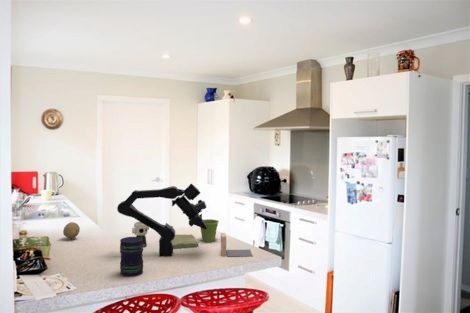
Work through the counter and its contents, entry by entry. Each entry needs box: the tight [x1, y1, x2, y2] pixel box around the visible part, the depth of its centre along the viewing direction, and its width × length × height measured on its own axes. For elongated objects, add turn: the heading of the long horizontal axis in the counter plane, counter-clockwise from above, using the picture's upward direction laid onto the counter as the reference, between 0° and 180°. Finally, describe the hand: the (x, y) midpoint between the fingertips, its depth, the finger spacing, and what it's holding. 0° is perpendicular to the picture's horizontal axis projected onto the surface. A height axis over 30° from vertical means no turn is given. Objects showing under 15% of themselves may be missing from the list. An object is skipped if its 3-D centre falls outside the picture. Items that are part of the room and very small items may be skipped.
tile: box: [220, 232, 227, 257], centre depth 205 cm, size 2×8×10 cm, turn 5°
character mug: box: [131, 221, 150, 247], centre depth 217 cm, size 11×7×13 cm, turn 139°
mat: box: [226, 249, 254, 258], centre depth 206 cm, size 13×11×1 cm
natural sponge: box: [62, 221, 81, 240], centre depth 230 cm, size 9×9×10 cm
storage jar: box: [119, 236, 144, 278], centre depth 175 cm, size 10×10×15 cm
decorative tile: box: [171, 233, 199, 250], centre depth 223 cm, size 19×20×4 cm
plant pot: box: [199, 218, 220, 243], centre depth 230 cm, size 12×12×11 cm
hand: (206, 228), depth 204 cm, fingers closed
